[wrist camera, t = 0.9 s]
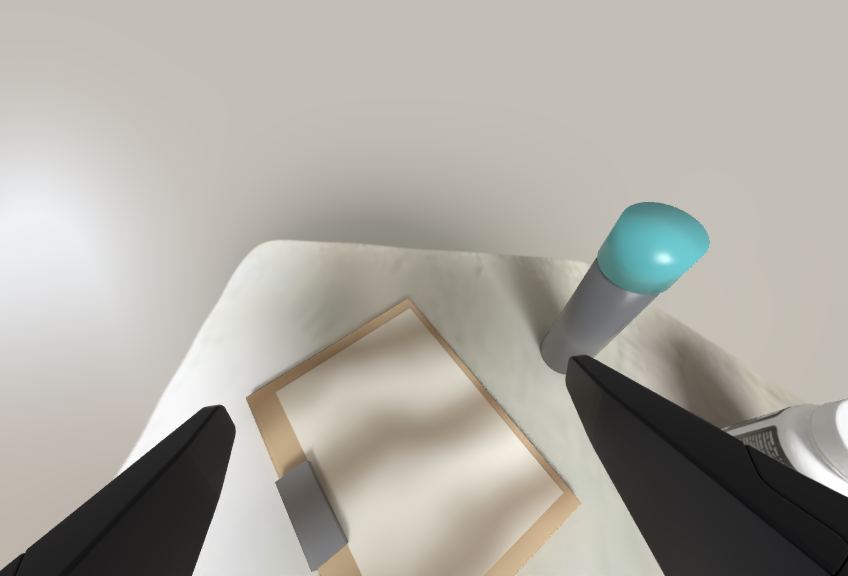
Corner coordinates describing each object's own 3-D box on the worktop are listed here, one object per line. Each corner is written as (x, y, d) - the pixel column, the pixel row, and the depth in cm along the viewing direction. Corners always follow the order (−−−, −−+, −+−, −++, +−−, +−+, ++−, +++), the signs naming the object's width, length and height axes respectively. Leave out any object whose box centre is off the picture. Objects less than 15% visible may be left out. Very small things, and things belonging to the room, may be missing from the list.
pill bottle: (776, 533, 19) (970, 544, 12) (690, 470, 21) (817, 449, 14) (794, 465, 21) (971, 441, 14) (714, 413, 23) (835, 370, 16)
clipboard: (576, 503, 20) (588, 502, 19) (382, 712, 16) (377, 732, 14) (408, 303, 29) (407, 291, 27) (250, 400, 24) (239, 393, 23)
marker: (597, 357, 25) (725, 235, 14) (565, 385, 24) (679, 275, 13) (560, 324, 27) (650, 191, 16) (529, 348, 26) (603, 224, 15)
